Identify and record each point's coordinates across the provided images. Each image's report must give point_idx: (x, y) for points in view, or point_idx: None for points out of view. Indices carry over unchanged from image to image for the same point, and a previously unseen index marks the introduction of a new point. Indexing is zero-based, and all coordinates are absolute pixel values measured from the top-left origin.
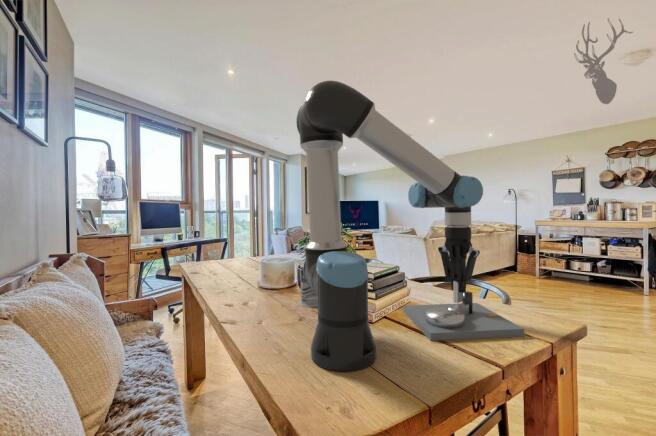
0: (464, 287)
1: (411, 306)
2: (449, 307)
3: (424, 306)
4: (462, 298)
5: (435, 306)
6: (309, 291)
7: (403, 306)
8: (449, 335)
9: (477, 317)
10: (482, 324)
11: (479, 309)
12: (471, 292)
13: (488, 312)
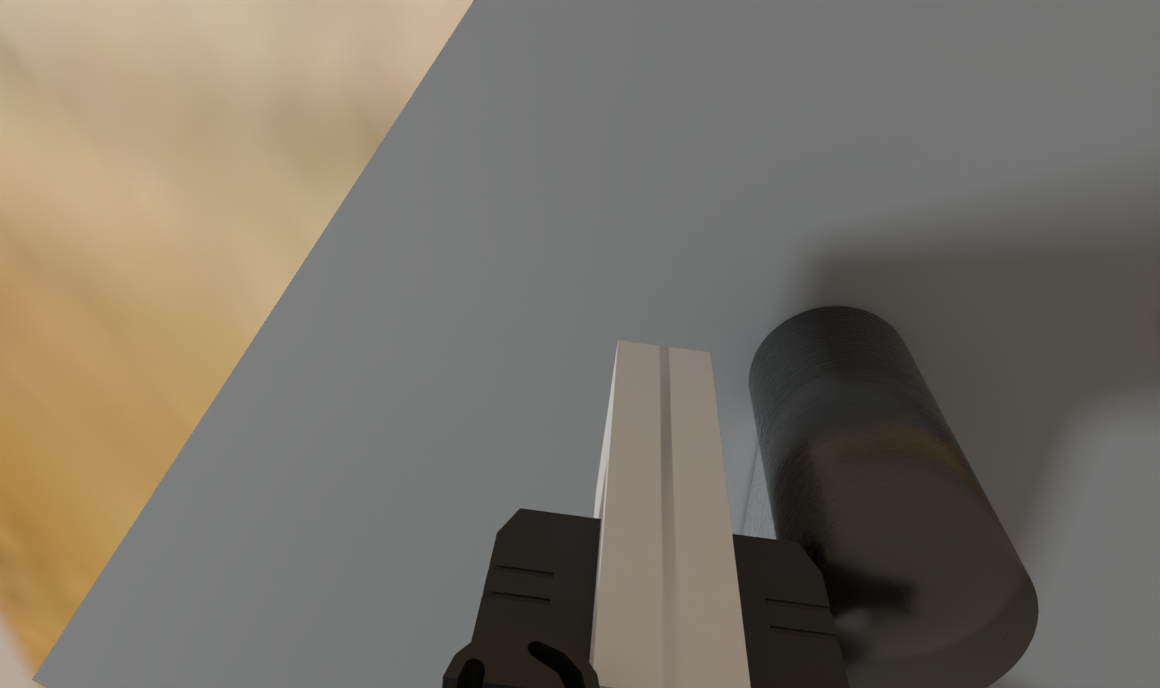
0: (832, 644)
1: (116, 646)
2: (494, 343)
3: (217, 543)
4: None
5: (316, 444)
6: None
7: (43, 676)
8: None
9: (1028, 485)
10: (1143, 667)
11: (958, 66)
12: (1000, 566)
13: (1150, 124)
